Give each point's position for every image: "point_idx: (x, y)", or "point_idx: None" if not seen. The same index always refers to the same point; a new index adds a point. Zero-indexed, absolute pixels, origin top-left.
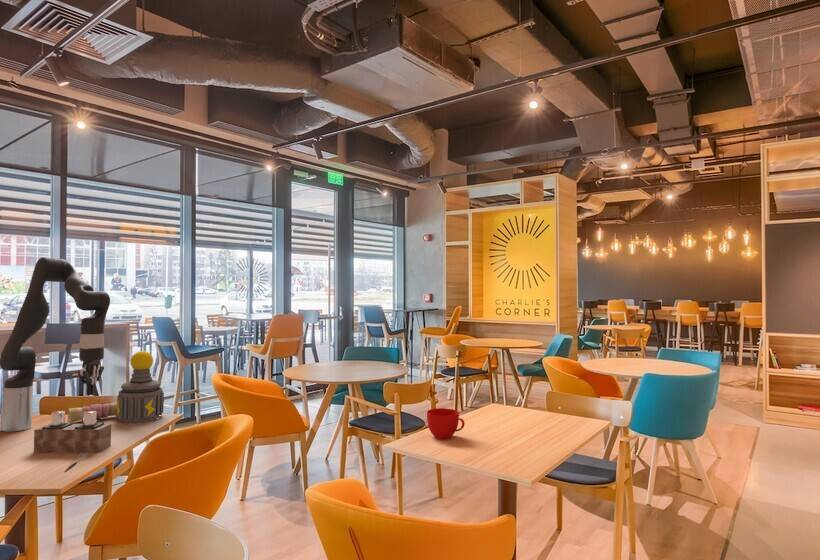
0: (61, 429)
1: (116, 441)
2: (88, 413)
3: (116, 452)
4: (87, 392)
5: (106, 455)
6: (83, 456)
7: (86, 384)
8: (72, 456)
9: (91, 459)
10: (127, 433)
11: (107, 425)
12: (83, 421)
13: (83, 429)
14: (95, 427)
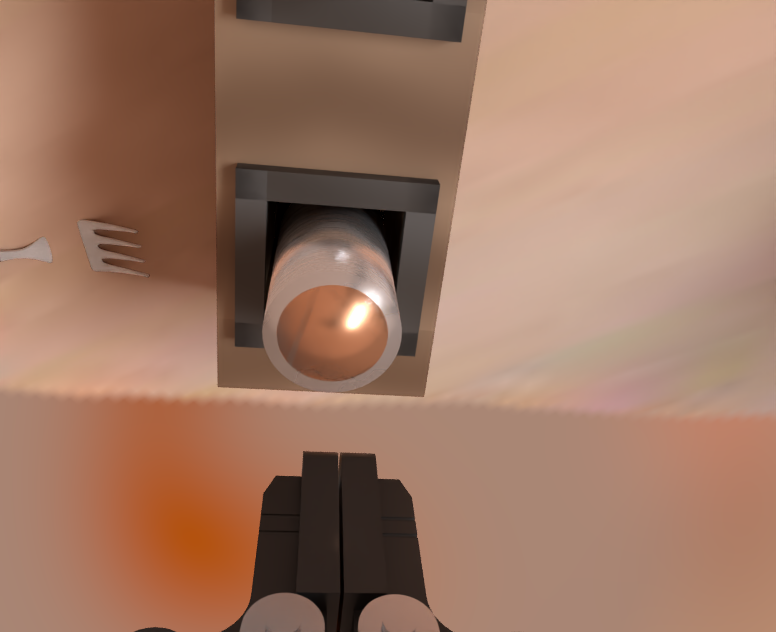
0: (221, 23)
1: (518, 296)
2: (271, 343)
3: (245, 395)
4: (262, 507)
5: (179, 365)
6: (109, 255)
7: (235, 625)
8: (147, 154)
9: (87, 314)
10: (732, 286)
11: (365, 390)
12: (289, 247)
13: (223, 255)
14: (262, 344)
